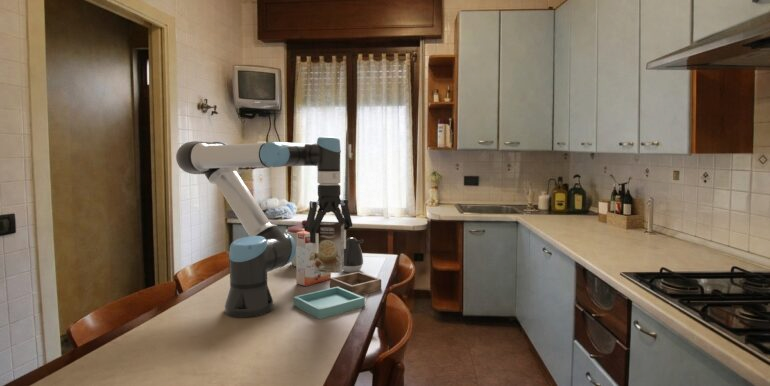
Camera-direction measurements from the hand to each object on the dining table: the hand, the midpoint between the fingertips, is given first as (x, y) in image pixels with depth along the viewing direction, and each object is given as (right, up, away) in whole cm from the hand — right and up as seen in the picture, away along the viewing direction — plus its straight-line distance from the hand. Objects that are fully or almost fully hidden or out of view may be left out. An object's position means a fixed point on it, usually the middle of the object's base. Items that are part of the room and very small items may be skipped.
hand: (329, 250), depth 144 cm
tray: (0, -19, +2) cm, 19 cm away
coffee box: (0, -7, +1) cm, 7 cm away
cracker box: (-10, -17, +29) cm, 35 cm away
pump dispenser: (+4, -15, +45) cm, 48 cm away
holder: (+7, -17, +20) cm, 28 cm away
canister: (-18, -14, +55) cm, 60 cm away
